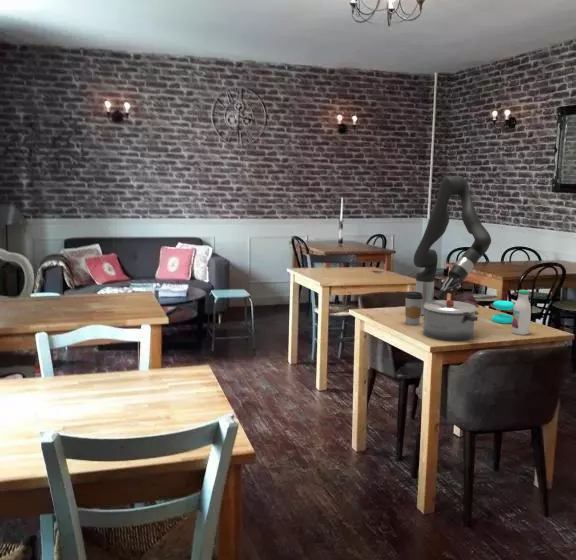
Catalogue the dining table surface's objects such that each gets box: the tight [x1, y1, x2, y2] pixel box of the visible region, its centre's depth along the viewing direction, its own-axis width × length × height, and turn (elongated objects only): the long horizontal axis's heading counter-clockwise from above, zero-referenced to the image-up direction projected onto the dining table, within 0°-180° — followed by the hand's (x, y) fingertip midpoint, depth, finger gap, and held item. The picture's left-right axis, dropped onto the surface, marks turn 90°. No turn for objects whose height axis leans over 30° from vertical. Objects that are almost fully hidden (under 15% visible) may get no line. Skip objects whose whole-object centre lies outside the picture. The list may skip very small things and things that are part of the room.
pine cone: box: [450, 292, 480, 308], centre depth 341 cm, size 18×10×10 cm, turn 34°
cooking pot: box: [422, 309, 479, 342], centre depth 291 cm, size 31×22×12 cm
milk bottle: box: [511, 289, 532, 336], centre depth 297 cm, size 8×8×20 cm
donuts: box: [491, 300, 515, 325], centre depth 320 cm, size 10×10×10 cm
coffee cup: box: [404, 291, 423, 326], centre depth 310 cm, size 8×8×15 cm
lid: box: [424, 299, 478, 314], centre depth 290 cm, size 23×24×3 cm
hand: (438, 298), depth 286 cm, fingers closed
